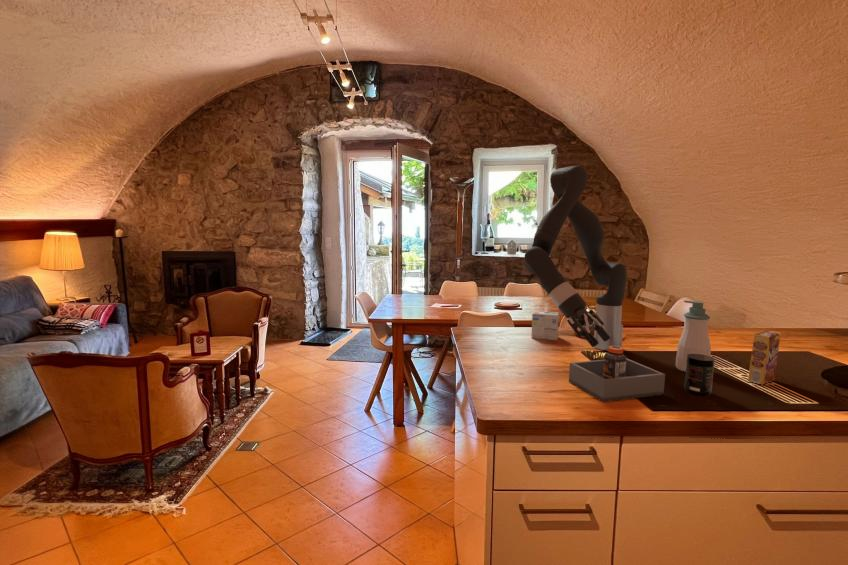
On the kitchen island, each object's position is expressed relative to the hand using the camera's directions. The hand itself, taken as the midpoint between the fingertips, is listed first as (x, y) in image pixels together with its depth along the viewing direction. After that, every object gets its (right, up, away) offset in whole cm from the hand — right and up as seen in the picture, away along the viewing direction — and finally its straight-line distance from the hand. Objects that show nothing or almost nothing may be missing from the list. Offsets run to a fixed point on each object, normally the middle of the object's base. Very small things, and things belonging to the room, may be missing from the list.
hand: (602, 342), depth 132 cm
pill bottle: (+3, -12, -2) cm, 13 cm away
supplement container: (+26, -14, -4) cm, 29 cm away
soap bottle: (+36, -11, +15) cm, 40 cm away
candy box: (+51, -13, +5) cm, 53 cm away
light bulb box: (-2, -6, +56) cm, 56 cm away
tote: (+3, -13, -2) cm, 14 cm away
